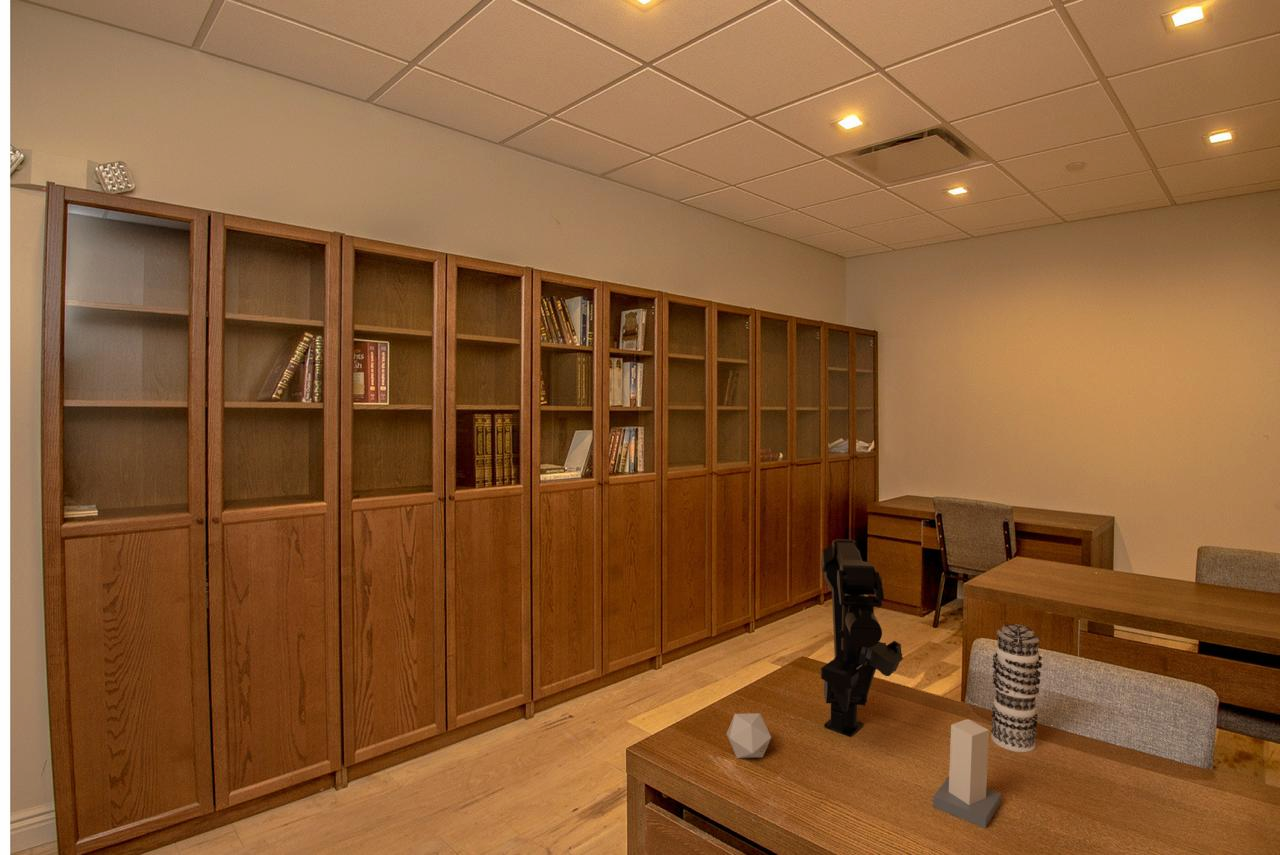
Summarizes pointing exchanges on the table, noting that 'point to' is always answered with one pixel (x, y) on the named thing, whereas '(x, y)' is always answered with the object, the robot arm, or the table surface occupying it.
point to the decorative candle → (1015, 688)
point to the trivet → (973, 813)
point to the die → (748, 735)
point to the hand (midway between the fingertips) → (855, 702)
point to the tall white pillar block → (968, 761)
